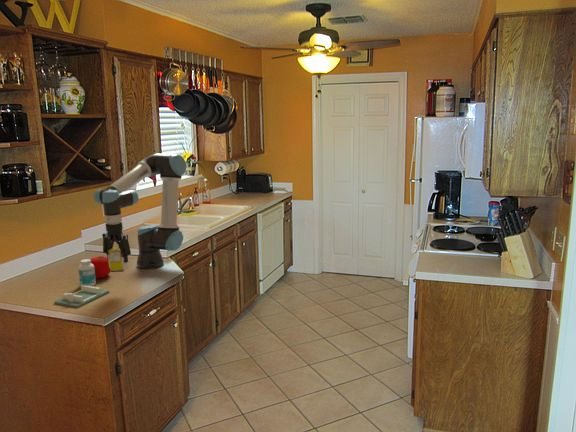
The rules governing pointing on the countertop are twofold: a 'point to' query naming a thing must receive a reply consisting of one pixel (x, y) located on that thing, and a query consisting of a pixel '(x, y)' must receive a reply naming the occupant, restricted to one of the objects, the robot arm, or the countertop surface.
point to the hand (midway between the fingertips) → (118, 267)
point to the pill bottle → (87, 273)
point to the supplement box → (115, 259)
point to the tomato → (100, 266)
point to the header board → (81, 296)
